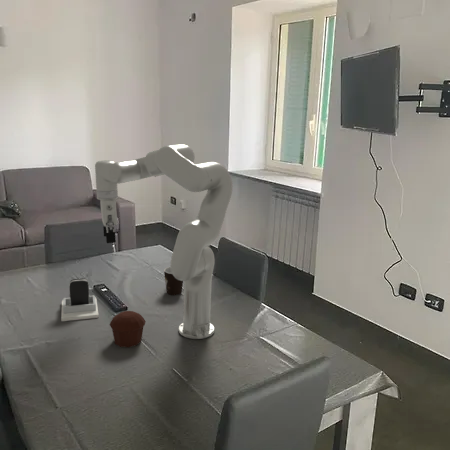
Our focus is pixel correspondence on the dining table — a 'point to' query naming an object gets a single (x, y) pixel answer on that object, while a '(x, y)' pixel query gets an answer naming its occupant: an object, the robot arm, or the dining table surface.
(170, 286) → the coffee mug
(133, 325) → the muffin
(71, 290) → the battery charger
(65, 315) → the dock
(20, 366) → the dining table surface
